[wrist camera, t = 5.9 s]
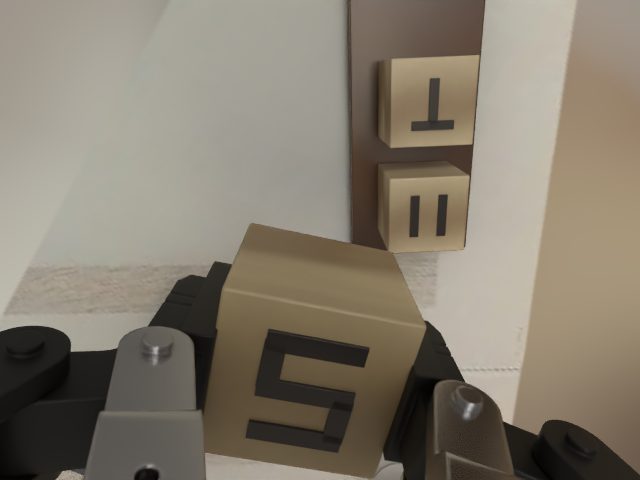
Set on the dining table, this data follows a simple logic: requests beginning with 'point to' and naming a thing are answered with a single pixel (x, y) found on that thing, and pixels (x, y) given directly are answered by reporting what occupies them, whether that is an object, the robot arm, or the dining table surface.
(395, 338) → the letter S
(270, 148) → the dining table surface
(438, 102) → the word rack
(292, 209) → the dining table surface
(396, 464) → the rook chess piece
